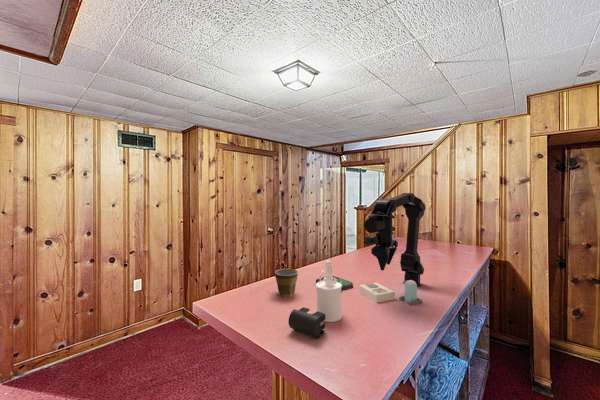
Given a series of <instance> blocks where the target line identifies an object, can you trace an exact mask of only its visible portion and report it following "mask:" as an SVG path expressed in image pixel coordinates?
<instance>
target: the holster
mask: <svg viewBox="0 0 600 400" xmlns="http://www.w3.org/2000/svg"><path fill="white" fill-rule="evenodd" d="M398 300H399V301H402V302H403V303H405V304H407V305H409V306H414V305H419V304H423V299H421V298H419V297H417V300H415V301H410V302H407V301H405V295H401V296H399V299H398Z"/></svg>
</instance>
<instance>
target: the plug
mask: <svg viewBox="0 0 600 400" xmlns="http://www.w3.org/2000/svg"><path fill="white" fill-rule="evenodd" d="M404 296H405V301H407V302H410V301H415V300H417V298H418V287H417V284H416V282H415V281H412V280H407V281H406V282H405V284H404Z"/></svg>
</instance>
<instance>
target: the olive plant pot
mask: <svg viewBox="0 0 600 400" xmlns="http://www.w3.org/2000/svg"><path fill="white" fill-rule="evenodd" d="M273 275H274V278H275V281H276V284H277V290H278V295H279V297H282V298H292V297H294V296H295V293H296V287H297V286H296V285H297V281H298V277H299V276H298V275H299V272H298V270H297V269H294V268H281V269H277V270H274V271H273Z"/></svg>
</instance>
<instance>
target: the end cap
mask: <svg viewBox="0 0 600 400" xmlns="http://www.w3.org/2000/svg"><path fill="white" fill-rule="evenodd" d="M308 312H310V308H307V307H304V306H303V307H301V308H299V309H295V308H293V310H291V311H290V313H289V316H288V327H289V328H290V329H292V330H294V331H295V332H299V333H302V334H304V335H307V336H310V337H312V338H315V339H319V338H320V337H322V336H323V335H324V334H325V333H326V331H325V330H324V329H326V326H327V325H326V322H324V320H325V314H324V313H321V312H318V311H317V310H316V311H315V312H314V313H308ZM322 322H324V323H323V324H322Z"/></svg>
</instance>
